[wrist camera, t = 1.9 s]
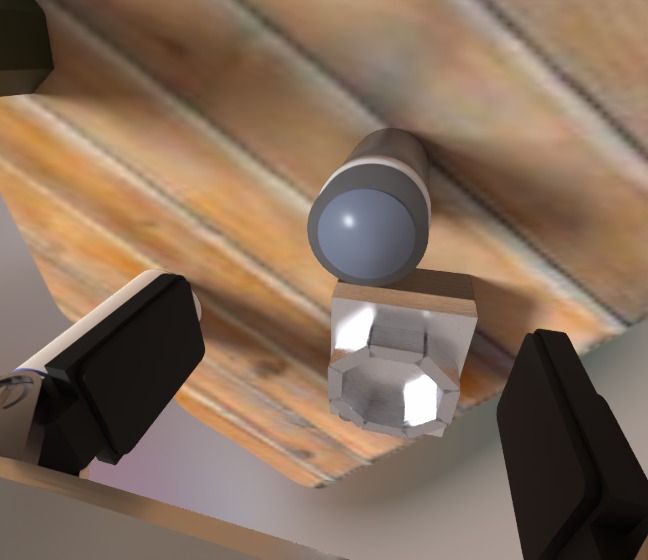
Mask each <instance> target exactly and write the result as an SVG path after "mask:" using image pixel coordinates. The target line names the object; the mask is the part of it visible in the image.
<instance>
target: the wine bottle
mask: <svg viewBox="0 0 648 560" xmlns="http://www.w3.org/2000/svg"><path fill="white" fill-rule="evenodd" d="M53 69H54V66H53V60H52V54H51V49H50V43H49V37H48V31H47V25H46V19H45V14H44V12H43V10H42V9H41V8H40V6H39V5H38V4H37V2H36V1H35V0H0V97H2V96H12V95H22V94H32V93H33V92H34V91H35V90H36V89H37V88H38V87H39V85H40V84H41V83H42V82H43V81H44V80H45V78H46V77H47V76H48V75H49V74H50V73H51V71H52V70H53Z"/></svg>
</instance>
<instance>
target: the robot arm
mask: <svg viewBox="0 0 648 560" xmlns="http://www.w3.org/2000/svg"><path fill="white" fill-rule="evenodd" d="M204 353H205V345H204V341H203V337H202V333H201V328H200V324H199V320H198V315H197V311H196V307H195V302H194V298H193V294H192V290H191V286H190V283H189V282H188V281H186V279H185V278H184V276H181V275H175V274H168V273H163V274H161V275H159V276H158V277H157V278H156V279H154V280H153V281H152V282H150V283H149V284H148V285H147V286H145V287H144V288H143V289H141V290H140V291H139V292H138V293H136V294H135V295H134V296H132V297H131V298H130V299H129V300H127V301H126V302H125V303H124V304H122V305H121V306H120V307H118V308H117V309H116V310H115V311H113V312H112V313H111V314H109V315H108V316H107V317H106V318H104V319H103V320H102V321H100V322H99V323H98V324H97V325H95V326H94V327H93V328H92V329H90V330H89V331H88V332H86V333H85V334H84V335H83V336H81V337H80V338H79V339H77V340H76V341H75V342H74V343H72V344H71V345H70V346H69V347H67V348H66V349H65V350H63V351H62V352H61V353H60V354H58V355H57V356H56V357H54V358H53V359H52V360H51V361H49V362H48V363H47V364H45V365H44V367H45V369H46V371H47V372H48V375H47V376H46V377H45V378H43V379H42V378H41V376H40V375H39V374H38V373H36V372H33V371H17V372H12V373H8V374H6V375H3V376H0V560H349V559H345V558H342V557H339V556H335V555H333V554H329V553H326V552H323V551H320V550H317V549H313V548H310V547H307V546H304V545H300V544H297V543H294V542H290V541H287V540H284V539H281V538H278V537H274V536H271V535H268V534H264V533H261V532H258V531H255V530H252V529H248V528H245V527H242V526H238V525H235V524H232V523H229V522H225V521H222V520H219V519H216V518H212V517H209V516H206V515H203V514H199V513H196V512H193V511H190V510H186V509H183V508H180V507H176V506H173V505H170V504H167V503H163V502H160V501H157V500H153V499H150V498H147V497H143V496H140V495H136V494H133V493H130V492H126V491H123V490H120V489H116V488H113V487H109V486H106V485H103V484H100V483H96V482H93V481H90V480H88V475H89V465H90V464H89V463H90V462H91V461H92V460H93V459H94V457H95V456H96V457H97V459H98V460H99V461H102V462H106V463H109V464H113V465H116V464H117V463H118V462H119V460H120V459H121V458H122V456H123V455H124V454H128V453H129V452H130V451H131V450H132V449H133V448H134V447H135V446H136V444H137V443H138V442H139V440H140V439H141V438H142V437H143V435H144V434H145V433H146V431H147V430H148V428H149V427H150V426H151V425H152V424H153V422H154V421H155V420H156V418H157V417H158V416H159V414H160V413H161V412H162V411H163V409H164V408H165V407H166V405H167V404H168V403H169V402H170V400H171V399H172V398H173V396H174V395H175V394H176V392H177V391H178V390H179V389H180V387H181V386H182V385H183V383H184V382H185V381H186V379H187V378H188V377H189V376H190V374H191V373H192V372H193V370H194V369H195V368H196V367H197V365H198V364H199V363H200V361H201V360H202V358H203V356H204ZM497 422H498V427H499V432H500V437H501V443H502V449H503V454H504V459H505V464H506V469H507V474H508V480H509V485H510V491H511V496H512V501H513V507H514V512H515V517H516V522H517V527H518V533H519V538H520V543H521V549H522V553H523V558H524V560H648V480H647V477H646V475H645V474H644V472H643V470H642V468H641V466H640V464H639V462H638V460H637V458H636V457H635V455H634V453H633V451H632V449H631V447H630V445H629V443H628V441H627V439H626V437H625V436H624V434H623V432H622V430H621V428H620V426H619V424H618V422H617V420H616V418H615V416H614V415H613V413H612V411H611V409H610V407H609V405H608V403H607V402H606V400H605V399H604V398H603V397H602V396H601V395H599V394H597V392H596V390H595V388H594V386H593V385H592V383H591V381H590V379H589V377H588V375H587V373H586V371H585V369H584V367H583V365H582V363H581V361H580V359H579V357H578V355H577V353H576V351H575V349H574V347H573V345H572V343H571V341H570V339H569V337H568V336H567V334H566V333H564V332H558V331H551V330H545V329H537V330H536V331H535V332H534V334H532V333H528V334H527V335H526V336H525V338H524V341H523V343H522V346H521V348H520V351H519V353H518V356H517V358H516V361H515V363H514V366H513V368H512V371H511V373H510V376H509V378H508V381H507V383H506V386H505V388H504V391H503V393H502V396H501V398H500V401H499V403H498V406H497Z"/></svg>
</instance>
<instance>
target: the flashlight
mask: <svg viewBox="0 0 648 560" xmlns="http://www.w3.org/2000/svg"><path fill="white" fill-rule="evenodd" d="M430 223H431V202H430V197H429V193H428V158H427V155H426V152H425V150H424V148H423V146H422V145H421V143H420V142H419V141H418V140H417V139H416V138H415V137H414V136H413V135H411V134H409V133H408V132H405V131H403V130H399V129H393V128H390V129H381V130H378V131H375V132H373V133H371V134H369V135H368V136H366V137H365V138H364V139H363V140H362V141H361V142H360V143H359V144H358V145H357V147H356V148H355V149H354V151H353V152H352V153H351V155H350V156H349V157H348V158H347V160H346V161H345V162H344V164H343V165H342V166H341V167H340V168H339V169H337V170H336V171H335V172H334V174H333V175H332V176H331V177H330V178H329V180H328V181H327V182H326V184H325V185H324V186H323V188H322V190H321V192H320V194H319V196H318V198H317V199H316V201H315V202H314V204H313V206H312V208H311V211H310V214H309V218H308V225H307V231H308V239H309V243H310V246H311V248H312V251H313V253H314V255H315V256H316V258H317V259H318V261H319V262H320V263H321V264H322V266H323V267H324V268H325V269H326V270H328V271H329V272H330V273H331V274H333V275H334V276H336V277H337V278H339V279H341V280H343V281H346V282H348V283H351V284H354V285H359V286H368V287H372V286H382V285H387V284H391V283H393V282H396V281H398V280H400V279H402V278H404V277H405V276H406V275H408V274H409V273H410V272H411V271H412V270H413V269H415V267H416V266H417V265H418V264H419V262H420V261H421V259H422V257H423V256H424V253H425V251H426V248H427V244H428V236H429V228H430Z"/></svg>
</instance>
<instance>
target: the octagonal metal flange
mask: <svg viewBox="0 0 648 560" xmlns="http://www.w3.org/2000/svg"><path fill="white" fill-rule="evenodd" d="M477 320H478V315H477V310H476V305H475V299H474V294H473V289H472V284H471V278H470V275H466V274H458V273H449V272H441V271H433V270H424V269H416V268H415V269H413V270H412V271H411V272H410V273H409V274H408V275H406V276H405V277H404V278H402V279H400V280H398V281H396V282H393V283H391V284H387V285H382V286H372V287H368V286H359V285H354V284H351V283H348V282H346V281H343V280H341V279H339V280H338V282H337V285H336V287H335V290H334V292H333V295H332V309H331V359H330V363H329V366H328V399H330V400H329V402H330V414H335V415H339V417H340V418H341V419H342V420H345V421H352V422H353V423H354V424H355V425H356V426H357V427H361V426H362V429H364V430H368V431H373V432H377V433H382V434H387V435H391V436H396V437H400V438H405V439H406V436H407V437H408V438H413V437H416V436H419V435H422V434H429V435H434V436H438V437H442V435H443V431H444V428H445V427H447V426H448V424H451V421H452V418H453V415H454V412H455V409H456V406H457V402H458V399H459V396H460V393H461V390H460V380H459V379H460V376H461V372H462V369H463V366H464V362H465V359H466V356H467V353H468V349H469V346H470V343H471V339H472V336H473V333H474V330H475V326H476V323H477Z"/></svg>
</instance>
